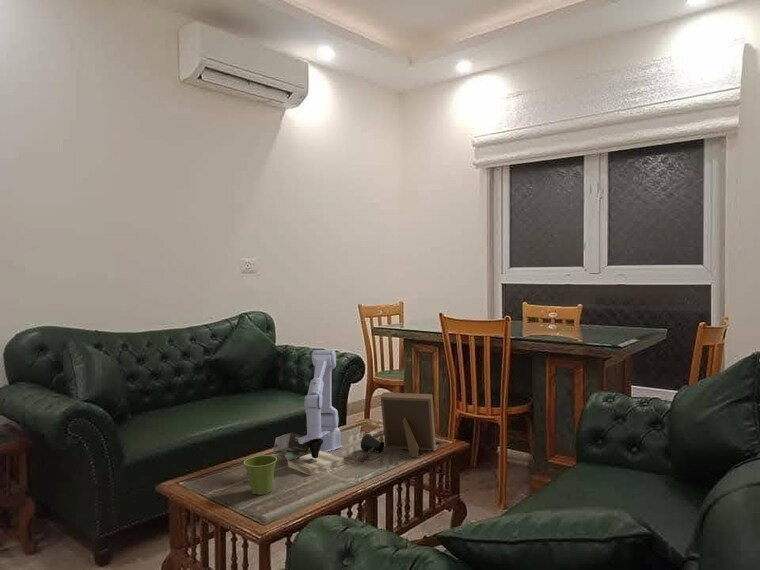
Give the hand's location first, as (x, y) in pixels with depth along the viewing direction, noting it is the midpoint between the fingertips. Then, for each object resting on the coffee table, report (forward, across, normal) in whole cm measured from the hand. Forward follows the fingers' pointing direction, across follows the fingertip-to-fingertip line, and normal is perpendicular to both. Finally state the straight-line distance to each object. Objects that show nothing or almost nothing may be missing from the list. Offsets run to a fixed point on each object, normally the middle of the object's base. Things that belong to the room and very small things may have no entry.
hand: (314, 457), depth 225 cm
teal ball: (-1, -7, +8) cm, 10 cm away
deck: (+3, 0, 0) cm, 3 cm away
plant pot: (+4, -30, -6) cm, 30 cm away
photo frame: (+4, +38, -16) cm, 41 cm away
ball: (+2, -2, 0) cm, 3 cm away
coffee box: (-1, -2, +19) cm, 19 cm away
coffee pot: (+4, +23, -6) cm, 24 cm away
